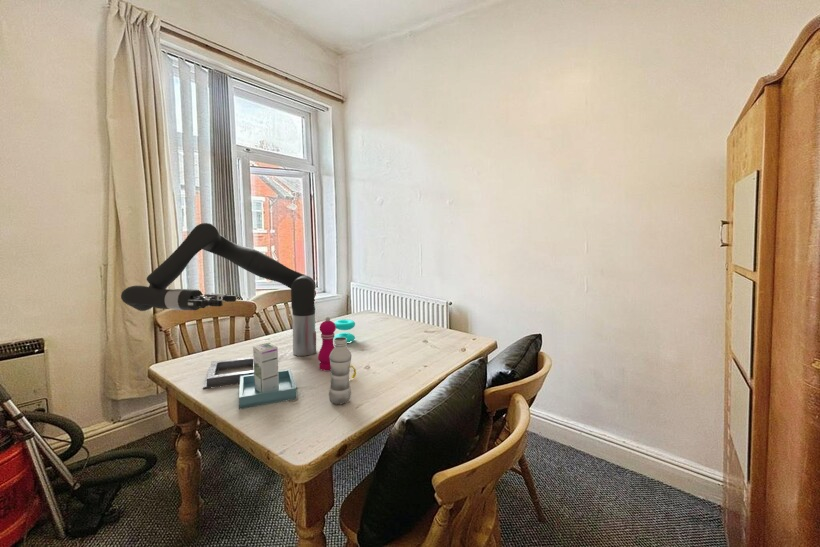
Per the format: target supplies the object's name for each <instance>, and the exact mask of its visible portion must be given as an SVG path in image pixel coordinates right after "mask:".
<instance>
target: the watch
mask: <svg viewBox="0 0 820 547" xmlns="http://www.w3.org/2000/svg"><path fill="white" fill-rule="evenodd" d="M350 368H352V369H353V374H352V376H351V377H352V378H354V379H355V378H356V375H357V371H356V368H355V367H354V365H352V363H350Z"/></svg>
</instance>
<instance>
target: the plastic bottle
mask: <svg viewBox="0 0 820 547" xmlns="http://www.w3.org/2000/svg"><path fill="white" fill-rule="evenodd" d="M333 345H334V349H333V350H332V351H331V353H330V365H331V370H330V373H331V374H330V377H331V379H330V387H329V390H328V399H329V401H330V402H331V403H332V404H334V405H343V404H346V403H348V402H349V400H350V399H351V396H352V389H351V384H350V382H351V381H349V379H350V369H351V367H350V364H352V363H351V362H352V356H353V355H352V352H351V351H350V349H349V348H348V346H347V345H348V344H347V339H346V338H344V337H338V338H335V339H334V338H333Z"/></svg>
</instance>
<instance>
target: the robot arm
mask: <svg viewBox="0 0 820 547" xmlns="http://www.w3.org/2000/svg"><path fill="white" fill-rule="evenodd" d="M202 250H203V251H206V252H208V253H212V254H214V255H216V256H219V257H222V258H224V259H226V260H227V261H229V262H231V263H233V264H235V265H237V266H238V267H240V268H242V269H243V270H245V271H247V272H249V273H250V274H253V275H255V276H257V277H260V278H262V279H266V280H269V281H272V282H277V283H279V284H281V285H284V286H285V287H288V288H289V289H290V302H291V310H292V354H293V355H294V356H296V355H297V356H298V357H306V355H308V356H311V355H314V354H317V332H316V306H315V305H316V304H315V290H316V287H317V286H316V282H315V280H314V278H312V277H310V276H308V275H306V274H303V273H301V272H298V271H296V270H294V269H291V268H289V267H287V266H286V265H284V264H282V263H281V262H279V261H278V260H276V259H274V258H272V257H270V256H269V255H267V254H265V253H263V252H262V251H259V250H257V249H255V248H252V247H248V246H244V245H240V244H237V243H235V242H234V241H231V240H230V239H228V238H226V237H224V236H223V235H222V234H221V233H220V232H219V230H218V228H217V227H216V226H215V225H213V224H212V223H208V222H202V223H199V224H197V225H196V226H194V228H192V230H191V231H190V232H189V234H188V235H187V237H185V239H184V240H183V241H182V243H181V244H180V245H179V246H178V247H177V248H176V249H175V250H174V252H172V253H171V254H170V255H169V257H167V258H166V259H165V260H164V261H163V262H162V263H161V264H160V265H158V267H156V268H155V269H154V270H153V271H152V272H150V273H149V274H148V276H147V277H146V281H147V283H149V285H148V286H147V285H132V286H131V285H130V286H128V287H126V288H124V290H122V292H121V295H120V299H121V300H122V302H123V303H125V305H128V306H129V307H131V308H133V309H135V310H137V311H140V312H146V311H148V310H151V309H153V308H156V309H160V310H175V311H198V310H200V309H204V308H205V309H206V308H210V307H222V306H223V302H224V303H225V302H229V303H230V302H236V301H237V296H236V295H234V294H233V295H231V294H230V295H228V293H213V292H211V293H204V294H203V293H202V291H201V290H200V289H196V288H195V289H193V288H190V289H189V288H173V289H167V288H168V287H169V285H171V284H172V283H173V282H174V281H175V280H177V278H179V276H180V275H182V273H183V272H184V270H185V269H186V268H187V266H188V264H189V263H190V262H191V260H192V259H194V257H195V256H196V255H197V254H198V253H199V252H200V251H202ZM313 353H314V354H313Z"/></svg>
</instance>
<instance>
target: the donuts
mask: <svg viewBox="0 0 820 547" xmlns="http://www.w3.org/2000/svg"><path fill="white" fill-rule="evenodd" d="M334 323H335V325H336V330H339V331H349V330H352V329H353V328H355V326H356V323H355V321H354V320H352V319H347V318H346V319H337V320H335V321H334ZM338 337H344V338H346V339H347V342H350V341H353V340H354V339H355V340H356V337H355V335H354V334H353V333H351V332H340V333H337V334H335V335H334V338H333V340H334V339H335V338H338ZM355 340H354V341H355ZM354 341H353V342H354Z"/></svg>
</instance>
